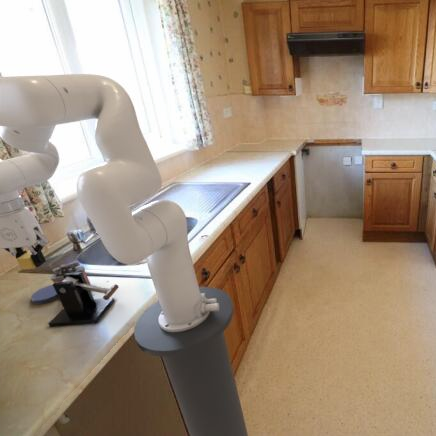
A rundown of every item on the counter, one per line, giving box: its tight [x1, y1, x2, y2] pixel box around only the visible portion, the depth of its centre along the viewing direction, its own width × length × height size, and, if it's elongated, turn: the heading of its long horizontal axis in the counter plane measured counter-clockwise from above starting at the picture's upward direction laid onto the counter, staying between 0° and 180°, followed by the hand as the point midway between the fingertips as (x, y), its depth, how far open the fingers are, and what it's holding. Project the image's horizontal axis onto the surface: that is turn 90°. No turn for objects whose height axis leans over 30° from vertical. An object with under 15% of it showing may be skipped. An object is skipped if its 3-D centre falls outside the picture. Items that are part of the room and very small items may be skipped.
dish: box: [30, 284, 59, 305], centre depth 97 cm, size 8×8×1 cm
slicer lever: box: [62, 277, 119, 300], centre depth 86 cm, size 12×5×2 cm, turn 95°
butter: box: [16, 250, 37, 271], centre depth 92 cm, size 4×3×4 cm
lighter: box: [50, 260, 92, 285], centre depth 96 cm, size 8×3×10 cm, turn 129°
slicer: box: [48, 272, 115, 328], centre depth 87 cm, size 12×9×12 cm
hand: (33, 264), depth 93 cm, fingers closed on butter, 3 cm apart
